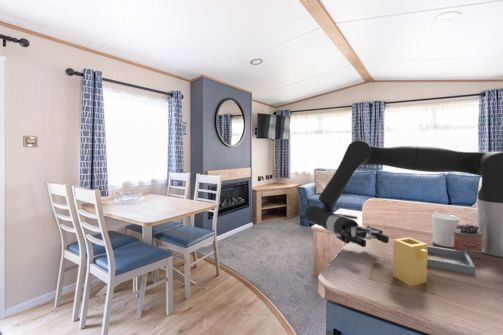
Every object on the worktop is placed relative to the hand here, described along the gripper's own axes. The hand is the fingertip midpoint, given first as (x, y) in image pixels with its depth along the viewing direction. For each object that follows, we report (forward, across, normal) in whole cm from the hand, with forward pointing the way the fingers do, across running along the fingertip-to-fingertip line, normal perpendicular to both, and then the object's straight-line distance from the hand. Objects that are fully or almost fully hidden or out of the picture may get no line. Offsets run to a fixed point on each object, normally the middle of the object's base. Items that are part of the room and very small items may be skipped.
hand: (376, 241), depth 74 cm
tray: (+7, +19, +7) cm, 21 cm away
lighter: (+4, +32, +7) cm, 34 cm away
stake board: (+9, -1, +7) cm, 12 cm away
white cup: (-4, +35, +7) cm, 36 cm away
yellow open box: (+11, 0, +6) cm, 12 cm away
